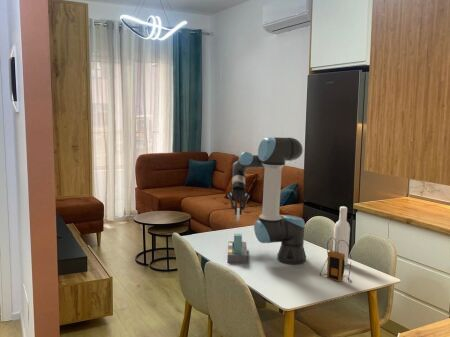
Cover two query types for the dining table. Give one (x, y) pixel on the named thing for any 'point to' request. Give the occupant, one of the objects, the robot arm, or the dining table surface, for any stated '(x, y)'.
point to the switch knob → (237, 244)
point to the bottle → (342, 234)
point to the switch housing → (234, 257)
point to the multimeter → (335, 264)
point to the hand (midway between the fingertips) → (238, 219)
